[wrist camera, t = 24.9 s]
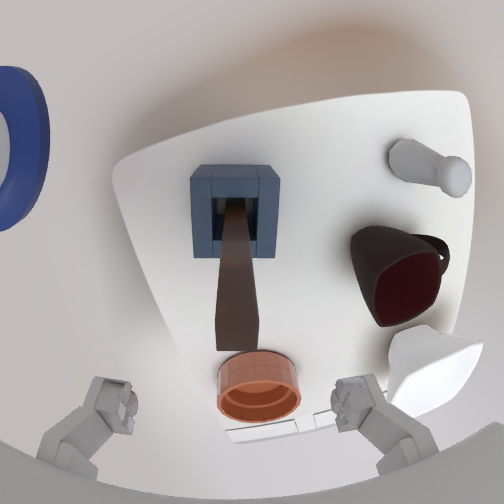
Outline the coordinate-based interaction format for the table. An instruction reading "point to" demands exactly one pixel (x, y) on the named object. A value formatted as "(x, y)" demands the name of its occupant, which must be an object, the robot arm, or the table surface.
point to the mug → (397, 272)
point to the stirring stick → (236, 284)
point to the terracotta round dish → (257, 387)
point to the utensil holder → (234, 186)
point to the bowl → (428, 368)
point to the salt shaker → (430, 167)
